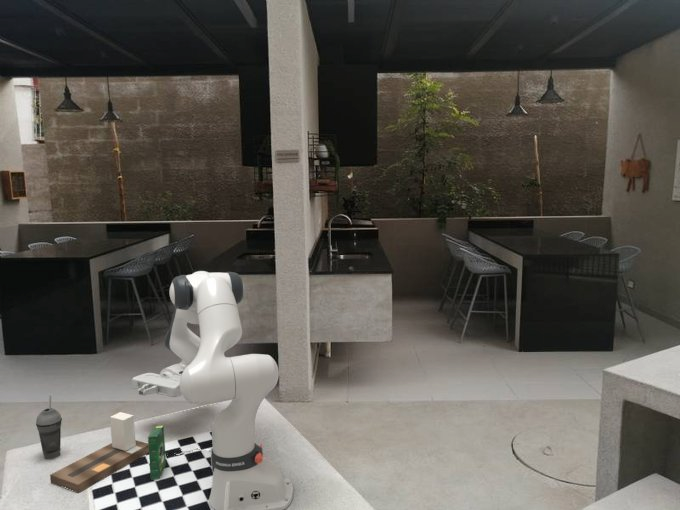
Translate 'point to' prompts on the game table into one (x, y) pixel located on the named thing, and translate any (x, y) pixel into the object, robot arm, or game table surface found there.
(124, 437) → the switch tab
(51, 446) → the beverage cup
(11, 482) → the game table surface
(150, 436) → the coffee box
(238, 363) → the robot arm
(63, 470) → the switch board
